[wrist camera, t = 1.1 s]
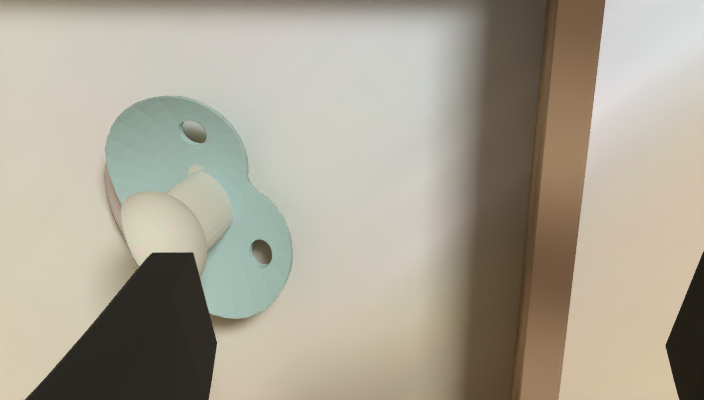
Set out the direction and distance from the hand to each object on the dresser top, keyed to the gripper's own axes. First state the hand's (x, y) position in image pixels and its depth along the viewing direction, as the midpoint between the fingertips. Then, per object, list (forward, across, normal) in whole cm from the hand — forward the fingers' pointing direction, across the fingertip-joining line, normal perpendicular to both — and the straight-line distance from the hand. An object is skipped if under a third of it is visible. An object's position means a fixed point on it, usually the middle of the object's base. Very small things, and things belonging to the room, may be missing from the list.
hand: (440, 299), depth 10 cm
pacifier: (+11, +7, +7) cm, 15 cm away
